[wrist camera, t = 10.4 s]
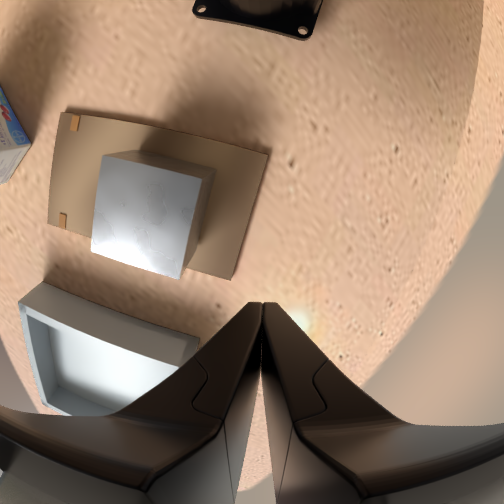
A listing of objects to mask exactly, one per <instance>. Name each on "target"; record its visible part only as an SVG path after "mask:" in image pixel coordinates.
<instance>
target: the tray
mask: <svg viewBox="0 0 504 504" xmlns="http://www.w3.org/2000/svg"><path fill="white" fill-rule="evenodd" d="M18 305H19V311H20V317H21V323H22V328H23V333H24V338H25V343H26V347H27V352H28V356H29V360H30V364H31V368H32V371H33V375H34V378H35V382H36V385H37V388H38V392H39V395H40V398H41V401H42V404H43V405H45V406H47V407H49V408H51V409H52V410H54V411H56V412H58V413H60V414H62V415H64V416H104V415H109V414H112V413H114V412H117V411H119V410H121V409H122V408H124V407H126V406H127V405H129V404H130V403H132V402H133V401H134V400H136V399H137V398H139V397H140V396H142V395H143V394H145V393H146V392H148V391H149V390H151V389H152V388H153V387H155V386H156V385H158V384H159V383H160V382H162V381H163V380H165V379H166V378H167V377H169V376H170V375H171V374H173V373H174V372H175V371H176V370H177V369H178V368H179V367H181V366H182V365H183V364H184V363H185V362H186V361H187V360H188V359H189V358H191V357H193V355H194V354H195V353H196V351H197V347H198V343H199V339H200V338H197V337H193V336H190V335H187V334H183V333H180V332H177V331H174V330H170V329H167V328H164V327H161V326H158V325H155V324H152V323H149V322H146V321H143V320H140V319H137V318H134V317H131V316H128V315H125V314H123V313H120V312H117V311H114V310H112V309H109V308H106V307H104V306H101V305H98V304H96V303H93V302H90V301H88V300H85V299H83V298H80V297H78V296H75V295H73V294H71V293H68V292H66V291H63V290H61V289H59V288H56V287H54V286H52V285H49V284H47V283H45V282H41V283H40V284H39V285H37V286H36V287H35V288H34V289H33V290H31V291H30V292H29V293H28V294H27V295H25V296H24V297H23V298H22V299H21V300H19V301H18Z"/></svg>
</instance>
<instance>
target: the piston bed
mask: <svg viewBox="0 0 504 504" xmlns="http://www.w3.org/2000/svg"><path fill="white" fill-rule="evenodd" d="M129 150H140V151H145V152H149V153H154V154H158V155H162V156H167V157H171V158H175V159H179V160H183V161H187V162H191V163H195V164H199V165H203V166H207V167H211V168H214V169H217V170H216V174H215V178H214V181H213V185H212V189H211V193H210V197H209V201H208V205H207V209H206V212H205V216H204V221H203V225H202V229H201V233H200V237H199V241H198V245H197V250H196V252H195V253H194V255H193V257H192V259H191V260H190V262H189V264H188V265H187V267H186V268H188V269H192V270H195V271H198V272H202V273H205V274H209V275H212V276H216V277H219V278H223V279H226V280H230V281H231V278H232V275H233V271H234V268H235V264H236V261H237V258H238V254H239V251H240V247H241V244H242V241H243V237H244V234H245V231H246V227H247V224H248V221H249V217H250V214H251V211H252V207H253V204H254V201H255V197H256V194H257V191H258V187H259V184H260V181H261V177H262V174H263V171H264V168H265V164H266V161H267V158H268V155H267V154H263V153H260V152H256V151H253V150H249V149H246V148H242V147H238V146H235V145H231V144H227V143H223V142H220V141H216V140H212V139H208V138H204V137H199V136H195V135H191V134H187V133H182V132H178V131H173V130H168V129H164V128H159V127H154V126H149V125H144V124H138V123H133V122H127V121H121V120H115V119H109V118H103V117H96V116H89V115H82V114H74V113H66V112H61V114H60V119H59V124H58V130H57V135H56V141H55V148H54V155H53V162H52V170H51V180H50V191H49V204H48V224H50V225H53V226H56V227H59V228H62V229H65V230H68V231H71V232H74V233H77V234H80V235H83V236H86V237H89V238H92V228H93V218H94V209H95V200H96V193H97V185H98V178H99V172H100V166H101V160H102V155H106V154H111V153H117V152H123V151H129Z"/></svg>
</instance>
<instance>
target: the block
mask: <svg viewBox="0 0 504 504" xmlns="http://www.w3.org/2000/svg"><path fill="white" fill-rule="evenodd" d="M216 170H217V169H214V168H211V167H207V166H203V165H199V164H195V163H191V162H187V161H183V160H179V159H175V158H171V157H167V156H162V155H158V154H154V153H149V152H145V151H140V150H129V151H123V152H117V153H111V154H106V155H102V160H101V166H100V172H99V178H98V185H97V193H96V200H95V209H94V218H93V228H92V241H91V252H94V253H97V254H100V255H103V256H106V257H109V258H112V259H115V260H118V261H121V262H124V263H127V264H130V265H133V266H136V267H139V268H143V269H146V270H149V271H152V272H155V273H158V274H162V275H165V276H168V277H171V278H175V279H178V280H179V279H180V278H181V276H182V274H183V272H184V271H185V269H186V267H187V265H188V264H189V262H190V260H191V259H192V257H193V255H194V253H195V252H196V250H197V245H198V241H199V237H200V233H201V229H202V225H203V221H204V216H205V212H206V209H207V205H208V201H209V197H210V193H211V189H212V185H213V181H214V178H215V174H216Z"/></svg>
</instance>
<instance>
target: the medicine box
mask: <svg viewBox="0 0 504 504" xmlns="http://www.w3.org/2000/svg"><path fill="white" fill-rule="evenodd" d="M30 146H31V142H30V140H29V139H28V137H27V135H26V134H25V132H24V130H23V128H22V127H21V125H20V123H19V121H18V120H17V118H16V116H15V114H14V112H13V110H12V109H11V107H10V105H9V103H8V101H7V99H6V97H5V95H4V93H3V90H2V89H1V86H0V185H1V184H4V183H7V182H8V181H9V179H10V177H11V176H12V174H13V172H14V171H15V169H16V167H17V166H18V164H19V163H20V161H21V160H22V158H23V156H24V155H25V153H26V152H27V151H28V149H29V148H30Z"/></svg>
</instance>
